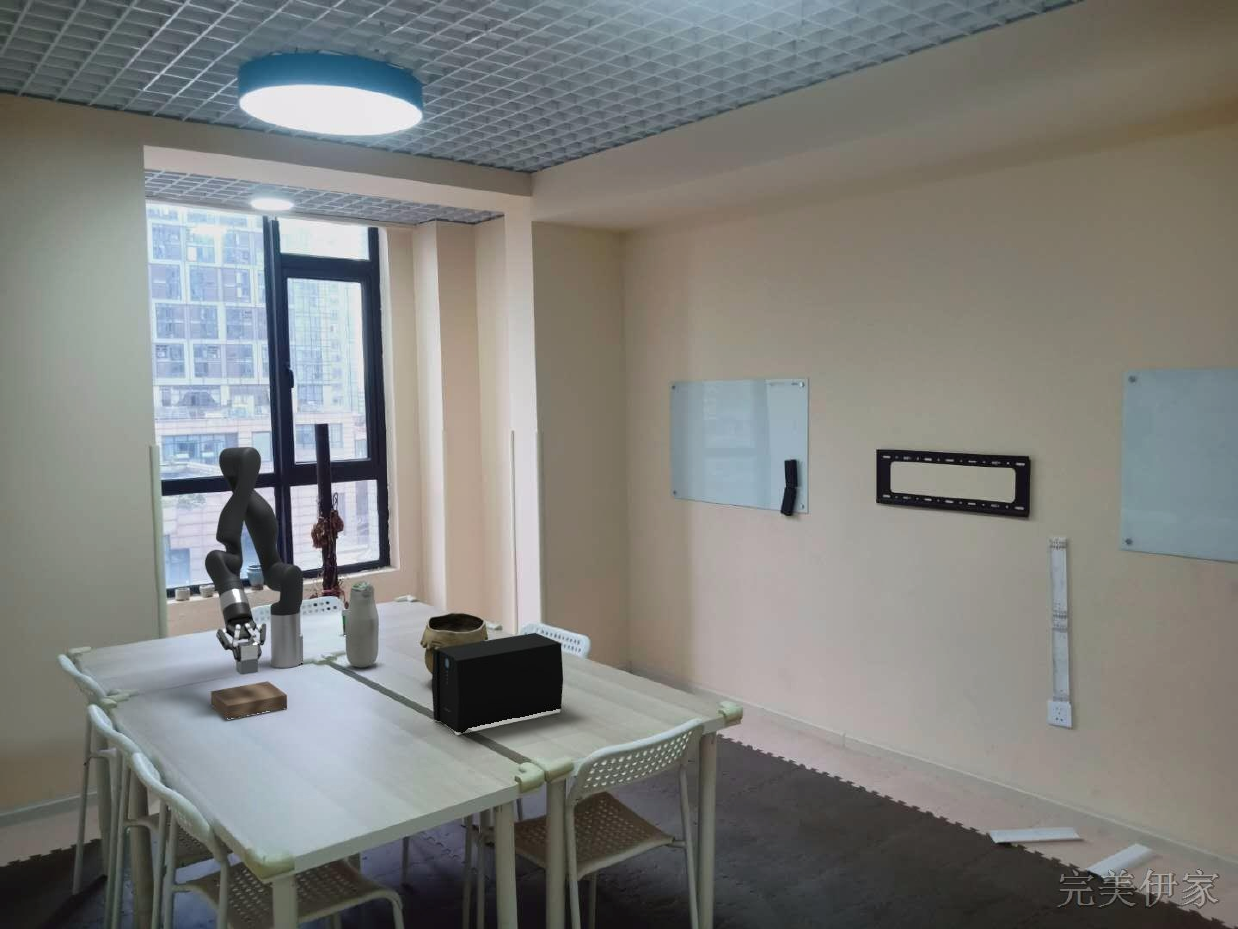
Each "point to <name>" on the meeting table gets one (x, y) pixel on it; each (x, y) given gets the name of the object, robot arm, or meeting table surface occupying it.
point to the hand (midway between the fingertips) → (249, 658)
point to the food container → (344, 620)
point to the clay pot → (451, 633)
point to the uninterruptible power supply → (496, 680)
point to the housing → (247, 658)
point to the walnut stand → (248, 700)
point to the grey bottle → (362, 626)
